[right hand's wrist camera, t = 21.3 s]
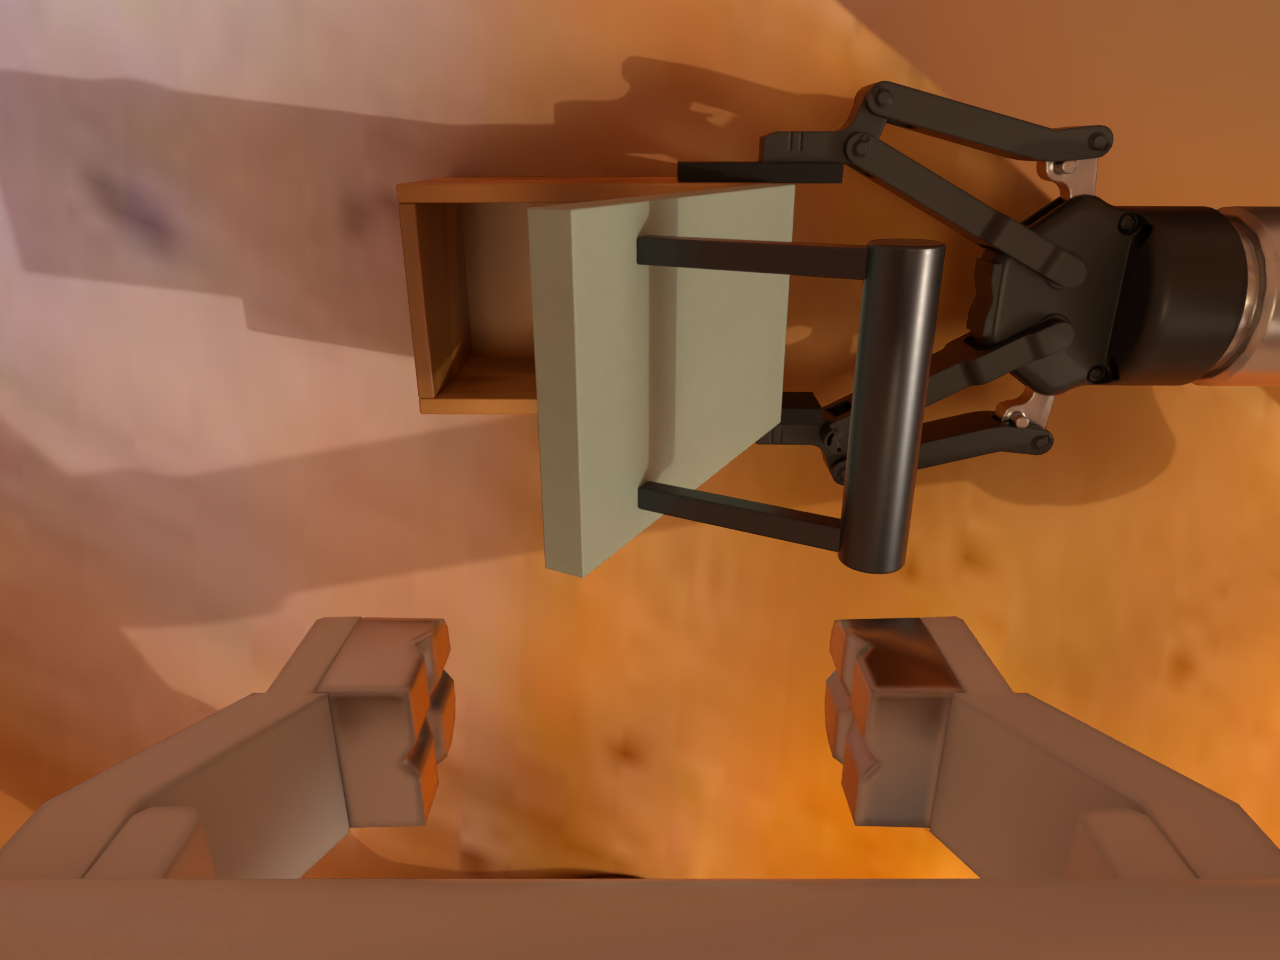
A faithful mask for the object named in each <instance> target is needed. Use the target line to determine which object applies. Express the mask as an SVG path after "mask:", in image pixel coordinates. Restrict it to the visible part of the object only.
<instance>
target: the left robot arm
mask: <svg viewBox="0 0 1280 960" xmlns="http://www.w3.org/2000/svg"><path fill="white" fill-rule="evenodd" d="M885 123H888V124H891V125H895V126H898V127H902V128H905V129H909V130H912V131H916V132H919V133H923V134H926V135H930V136H933V137H937V138H940V139H944V140H947V141H951V142H954V143H958V144H961V145H965V146H968V147H971V148H975V149H978V150H982V151H985V152H989V153H992V154H996V155H999V156H1003V157H1006V158H1011V159H1015V160H1024V161H1037V173H1038V175H1039V177H1040V178H1042V179H1043V180H1047V181H1052V182H1054V183H1056V184H1057V186H1058V187H1059V189H1060V197H1058V198H1057V199H1055V200H1054V201H1052V202H1051V203H1049V204H1048V205H1046V206H1045V207H1043V208H1042V209H1040V210H1039V211H1037V212H1036V213H1034V214H1033V215H1031V216H1030V217H1028V218H1026V219H1025V220H1023V221H1022V222H1020V223H1019V222H1017V221H1015V220H1014V219H1012V218H1010V217H1008V216H1006V215H1004V214H1002V213H1000V212H998V211H996V210H994V209H993V208H991V207H989V206H988V205H986V204H984V203H983V202H981V201H979V200H978V199H976V198H975V197H973V196H971V195H970V194H968V193H966V192H965V191H963V190H961V189H960V188H958V187H956V186H955V185H953V184H952V183H950V182H948V181H947V180H945V179H943V178H942V177H940V176H938V175H937V174H935V173H934V172H932V171H930V170H929V169H927V168H925V167H924V166H922V165H920V164H919V163H917V162H915V161H914V160H912V159H911V158H909V157H907V156H906V155H904V154H902V153H901V152H899V151H897V150H896V149H894V148H893V147H891V146H889V145H888V144H886V143H884V142H883V141H881V140H879V137H880V135H881V132H882V130H883V128H884V126H885ZM1112 144H1113V133H1112V131H1111V130H1110V129H1109V128H1108V127H1106V126H1102V125H1096V126H1074V127H1063V128H1053V129H1051V128H1047V127H1044V126H1041V125H1037V124H1034V123H1030V122H1027V121H1023V120H1020V119H1016V118H1013V117H1010V116H1006V115H1003V114H999V113H996V112H992V111H989V110H986V109H982V108H979V107H975V106H972V105H968V104H965V103H961V102H958V101H955V100H951V99H948V98H944V97H941V96H937V95H934V94H930V93H927V92H924V91H920V90H917V89H913V88H910V87H906V86H903V85H899V84H896V83H893V82H889V81H881V82H878V83H874V84H871V85H867V86H865V87H862V88H861V89H860V90H859V91H858V92H857V94H856V96H855V100H854V106H853V108H852V111H851V113H850V115H849V118H848V120H847V121H846V123H845V124H844V125H843V126H842V127H841V128H840V129H838V130H836V131H834V132H771V133H769V134H767V135H764V136H762V137H760V146H759V162H678V174H677V180H678V182H773V183H842V176H843V164H845V165H847V166H849V167H850V168H852V169H854V170H855V171H857V172H859V173H860V174H862V175H864V176H865V177H867V178H869V179H870V180H872V181H874V182H875V183H877V184H879V185H880V186H882V187H884V188H885V189H887V190H889V191H890V192H892V193H894V194H895V195H897V196H899V197H900V198H902V199H904V200H905V201H907V202H909V203H910V204H912V205H914V206H916V207H917V208H919V209H921V210H922V211H924V212H926V213H927V214H929V215H931V216H932V217H934V218H936V219H937V220H939V221H941V222H942V223H944V224H946V225H947V226H949V227H951V228H952V229H954V230H956V231H957V232H959V233H960V234H961V235H962V236H964V237H965V238H967V239H969V240H970V241H972V242H974V243H975V244H977V245H979V246H980V247H982V248H984V249H985V252H984V253H983V255H982V258H977V260H976V267H975V274H974V277H975V286H976V296H975V298H974V300H973V303H972V305H971V307H970V310H969V314H968V321H967V329H969V330H971V332H969V333H967V334H965V335H963V336H961V337H959V338H957V339H955V340H953V341H951V342H949V343H948V344H947V345H946V346H945V347H944V349H942V350H941V351H939V352H936V353H934V354H932V357H931V365H930V372H929V380H928V388H927V396H926V403H925V407H926V406H928V405H931V404H933V403H935V402H937V401H939V400H941V399H943V398H945V397H947V396H950V395H952V394H954V393H956V392H958V391H960V390H962V389H964V388H967V387H969V386H973V385H982V384H985V383H988V382H990V381H992V380H994V379H996V378H998V377H1001V376H1003V375H1005V374H1007V373H1010V374H1011V375H1013V376H1014V377H1015V378H1016V379H1018V380H1019V381H1020V382H1021V383H1023V384H1024V385H1025V386H1026V388H1025V390H1024V392H1023V393H1022V394H1021V395H1020V396H1019V397H1017V398H1015V399H1011V400H1006V401H1003V402H1000V403H999V404H998V405H997V406H996V411H976V412H971V413H965V414H961V415H957V416H952V417H948V418H944V419H939V420H935V421H930V422H926V423H923V427H922V434H921V442H920V450H919V457H918V465H917V470H918V469H922V468H927V467H931V466H936V465H940V464H945V463H949V462H954V461H958V460H963V459H967V458H972V457H976V456H981V455H985V454H990V453H994V452H999V451H1002V452H1012V453H1022V454H1032V455H1042V454H1044V453H1046V452H1048V451H1049V450H1050V449H1051V447H1052V445H1053V441H1054V438H1053V436H1052V434H1051V433H1050V432H1049V431H1048V430H1046V425H1047V422H1048V419H1049V415H1050V412H1051V408H1052V405H1053V402H1054V398H1055V395H1059V394H1062V393H1064V392H1066V391H1068V390H1070V389H1072V388H1075V387H1078V386H1082V385H1170V386H1175V385H1184V384H1188V383H1190V382H1191V383H1193V384H1195V385H1201V386H1280V207H1236V206H1235V207H1223V208H1220V209H1218V210H1215V209H1213V208H1210V207H1203V206H1113V205H1110V204H1108V203H1106V202H1105V201H1103V200H1102V199H1100V198H1099V197H1096V196H1095V187H1096V177H1097V167H1098V158H1099V157H1102V156H1103V155H1105V154H1106V153H1107V152H1108V151H1109V150H1110V148H1111V147H1112ZM852 397H853V393H852V394H850V395H848V396H845V397H843V398H841V399H839V400H837V401H835V402H833V403H831V404H829V405H827V406H825V407H823V408H822V407H821V406H820V404H819V403H818V401H817V399H816V398H815V396H814V394H813V393H812V392H782V406H781V422H780V423H779V424H777V425H776V426H775V427H774V428H772V429H771V430H770V431H769V432H767V433H766V434H765V435H764V436H762V437H761V438H760V439H758V440H757V441H756V442H755V443H757V444H783V445H815V446H817V447H819V448H820V449H821V451H822V454H823V459H824V462H825V464H826V466H827V468H828V470H829V471H830V473H831V475H832V477H833V479H834V481H835V482H836V483H838V484H840V485H844V481H845V470H846V460H847V449H848V439H849V428H850V418H851V407H852ZM586 879H632V878H624V877H593V878H586Z"/></svg>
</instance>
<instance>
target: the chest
mask: <svg viewBox="0 0 1280 960" xmlns="http://www.w3.org/2000/svg"><path fill="white" fill-rule="evenodd" d="M757 184H776V183H773V182H678V180H677V177H445V178H438V179H431V180H424V181H417V182H409V183H402V184H397V186H396V188H397V197H398V202H399V205H398V206H399V216H400V225H401V235H402V244H403V254H404V263H405V273H406V282H407V292H408V301H409V310H410V320H411V329H412V339H413V348H414V358H415V367H416V377H417V386H418V396H419V398H420V399H419V405H420V413H421V414H538V412H537V392H536V373H535V353H534V333H533V314H532V294H531V275H530V255H529V235H528V216H527V209H528V208H531V207H540V206H550V205H560V204H570V203H580V202H590V201H599V200H609V199H619V198H629V197H639V196H649V195H659V194H668V193H678V192H688V191H698V190H708V189H718V188H728V187H737V186H747V185H757Z"/></svg>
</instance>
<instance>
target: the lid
mask: <svg viewBox="0 0 1280 960" xmlns="http://www.w3.org/2000/svg"><path fill="white" fill-rule="evenodd" d="M794 198H795V184H757V185H747V186H737V187H728V188H718V189H708V190H698V191H688V192H678V193H668V194H659V195H649V196H639V197H629V198H619V199H609V200H599V201H590V202H580V203H570V204H560V205H550V206H540V207H531V208H528V209H527V216H528V235H529V255H530V275H531V294H532V314H533V333H534V353H535V373H536V392H537V412H538V432H539V451H540V471H541V490H542V510H543V530H544V549H545V567H546V568H548V569H552V570H555V571H559V572H563V573H566V574H570V575H574V576H578V577H581V578H584V577H585V576H587V575H588V574H589V573H590V572H592V571H593V570H594V569H595V568H597V567H598V566H599V565H601V564H602V563H603V562H604V561H606V560H607V559H608V558H609V557H611V556H612V555H613V554H614V553H616V552H617V551H618V550H619V549H621V548H622V547H623V546H625V545H626V544H627V543H628V542H630V541H631V540H632V539H633V538H635V537H636V536H637V535H638V534H640V533H641V532H642V531H643V530H645V529H646V528H647V527H649V526H650V525H651V524H652V523H654V522H655V521H656V520H657V519H659V518H660V517H661V516H662V515H664V514H665V515H669V516H674V517H679V518H683V519H688V520H692V521H697V522H702V523H706V524H711V525H715V526H720V527H725V528H729V529H734V530H738V531H743V532H748V533H752V534H757V535H761V536H766V537H771V538H775V539H780V540H784V541H789V542H794V543H798V544H803V545H807V546H812V547H817V548H821V549H826V550H830V551H835V552H838V558H839V560H840V561H841V562H842V563H843V564H844V565H846V566H847V567H849V568H851V569H854V570H857V571H860V572H864V573H871V574H887V573H892V572H895V571H898V570H900V569H901V568H902V567H903V565H904V564H905V558H906V550H907V543H908V535H909V527H910V519H911V512H912V504H913V496H914V488H915V481H916V473H917V465H918V457H919V450H920V442H921V434H922V427H923V419H924V411H925V403H926V396H927V388H928V380H929V372H930V365H931V357H932V349H933V341H934V334H935V326H936V318H937V311H938V303H939V295H940V287H941V280H942V272H943V264H944V256H945V249H946V246H945V244H944V243H942V242H938V241H932V240H921V239H878V240H872V241H869V242H868V244H867V246H862V245H842V244H822V243H801V242H792V230H793V214H794ZM790 275H798V276H813V277H827V278H842V279H857V280H864V281H863V292H862V302H861V313H860V323H859V334H858V344H857V355H856V365H855V376H854V386H853V397H852V407H851V418H850V428H849V439H848V449H847V460H846V470H845V481H844V492H843V502H842V513H841V519H838V518H833V517H828V516H823V515H818V514H813V513H808V512H803V511H798V510H793V509H788V508H783V507H778V506H773V505H768V504H763V503H758V502H753V501H748V500H743V499H738V498H733V497H728V496H723V495H718V494H713V493H708V492H703V491H698V490H695V489H697V488H698V487H699V486H700V485H702V484H703V483H704V482H705V481H707V480H708V479H709V478H710V477H712V476H713V475H714V474H716V473H717V472H718V471H719V470H721V469H722V468H723V467H724V466H726V465H727V464H728V463H729V462H731V461H732V460H733V459H734V458H736V457H737V456H738V455H740V454H741V453H742V452H743V451H745V450H746V449H747V448H748V447H750V446H751V445H752V444H753V443H755V442H756V441H757V440H758V439H760V438H761V437H762V436H764V435H765V434H766V433H767V432H769V431H770V430H771V429H772V428H774V427H775V426H776V425H777V424H779V423H780V422H781V406H782V390H783V374H784V358H785V342H786V326H787V310H788V294H789V278H790Z"/></svg>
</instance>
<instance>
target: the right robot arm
mask: <svg viewBox="0 0 1280 960" xmlns="http://www.w3.org/2000/svg"><path fill="white" fill-rule="evenodd" d="M450 650H451V649H450V641H449V633H448V626H447V624H446V623H445V621H444V619H430V618H378V617H365V618H362V617H324V618H320V619H317V620H316V622H315V623H314V624H313V626H312V627H311V629H310V630H309V631H308V633H307V634H306V636H305V637H304V639H303V640H302V642H301V643H300V644H299V646H298V647H297V649H296V650H295V652H294V653H293V655H292V656H291V657H290V659H289V660H288V662H287V663H286V665H285V666H284V667H283V669H282V670H281V672H280V673H279V675H278V676H277V678H276V679H275V680H274V682H273V683H272V685H271V686H270V688H269V689H268V691H267V692H266V693H252V694H250V695H248V696H246V697H245V698H243V699H241V700H239V701H237V702H235V703H233V704H231V705H229V706H227V707H225V708H224V709H222V710H220V711H218V712H216V713H214V714H212V715H210V716H208V717H206V718H204V719H203V720H201V721H199V722H197V723H195V724H193V725H191V726H189V727H187V728H185V729H183V730H182V731H180V732H178V733H176V734H174V735H172V736H170V737H168V738H166V739H164V740H162V741H161V742H159V743H157V744H155V745H153V746H151V747H149V748H147V749H145V750H143V751H141V752H140V753H138V754H136V755H134V756H132V757H130V758H128V759H126V760H124V761H122V762H120V763H119V764H117V765H115V766H113V767H111V768H109V769H107V770H105V771H103V772H101V773H99V774H98V775H96V776H94V777H92V778H90V779H88V780H86V781H84V782H82V783H80V784H78V785H77V786H75V787H73V788H71V789H69V790H67V791H65V792H63V793H61V794H59V795H57V796H56V797H54V798H52V799H50V800H48V801H46V802H44V803H43V804H42V805H41V806H40V807H39V808H38V809H37V810H36V811H35V813H34V814H33V815H32V816H31V817H30V818H29V819H28V820H27V821H26V822H25V823H24V825H23V826H22V827H21V828H20V829H19V830H18V831H17V832H16V833H15V834H14V835H13V837H12V838H11V839H10V840H9V841H8V842H7V843H6V844H5V845H4V846H3V847H2V849H1V850H0V960H1280V849H1279V848H1278V847H1277V846H1276V845H1275V844H1274V843H1273V842H1272V841H1271V840H1270V838H1269V837H1268V836H1267V835H1266V834H1265V833H1264V832H1263V831H1262V830H1261V829H1260V827H1259V826H1258V825H1257V824H1256V823H1255V822H1254V821H1253V820H1252V819H1251V818H1250V816H1249V815H1248V814H1247V813H1246V812H1245V811H1244V810H1243V809H1242V808H1241V807H1240V805H1239V804H1237V803H1235V802H1233V801H1231V800H1229V799H1228V798H1226V797H1224V796H1222V795H1220V794H1218V793H1216V792H1214V791H1212V790H1210V789H1209V788H1207V787H1205V786H1203V785H1201V784H1199V783H1197V782H1195V781H1193V780H1191V779H1189V778H1188V777H1186V776H1184V775H1182V774H1180V773H1178V772H1176V771H1174V770H1172V769H1170V768H1169V767H1167V766H1165V765H1163V764H1161V763H1159V762H1157V761H1155V760H1153V759H1151V758H1150V757H1148V756H1146V755H1144V754H1142V753H1140V752H1138V751H1136V750H1134V749H1132V748H1131V747H1129V746H1127V745H1125V744H1123V743H1121V742H1119V741H1117V740H1115V739H1113V738H1112V737H1110V736H1108V735H1106V734H1104V733H1102V732H1100V731H1098V730H1096V729H1094V728H1092V727H1091V726H1089V725H1087V724H1085V723H1083V722H1081V721H1079V720H1077V719H1075V718H1073V717H1072V716H1070V715H1068V714H1066V713H1064V712H1062V711H1060V710H1058V709H1056V708H1054V707H1053V706H1051V705H1049V704H1047V703H1045V702H1043V701H1041V700H1039V699H1037V698H1035V697H1034V696H1032V695H1030V694H1028V693H1014V692H1013V691H1012V689H1011V688H1010V686H1009V685H1008V684H1007V682H1006V681H1005V679H1004V678H1003V676H1002V675H1001V674H1000V672H999V671H998V669H997V668H996V666H995V665H994V664H993V662H992V661H991V659H990V658H989V656H988V655H987V654H986V652H985V651H984V649H983V648H982V646H981V645H980V644H979V642H978V641H977V639H976V638H975V636H974V635H973V634H972V632H971V631H970V629H969V628H968V626H967V625H966V624H965V622H964V621H963V620H962V619H960V618H958V617H956V616H951V617H926V618H887V619H846V620H835V621H834V624H833V628H832V631H831V639H830V648H829V650H830V653H831V656H832V658H833V661H834V664H835V667H836V670H835V671H834V673H833V674H832V675H831V676H830V677H829V678H828V679H827V680H826V691H825V724H826V731H827V736H828V742H829V745H830V749H831V752H832V755H833V757H834V758H835V759H836V760H838V761H839V762H840V763H842V764H843V773H842V782H841V784H842V787H843V790H844V793H845V796H846V799H847V802H848V805H849V808H850V811H851V814H852V817H853V821H854V824H855V826H885V827H922V828H930V832H931V833H932V834H933V835H935V836H936V837H937V838H938V839H939V840H940V841H941V842H942V843H943V844H944V845H945V846H946V847H947V848H949V849H950V850H951V851H952V852H953V853H954V854H955V855H956V856H957V857H958V858H959V859H960V860H961V861H963V862H964V863H965V864H966V865H967V866H968V867H969V868H970V869H971V870H972V871H973V872H974V873H975V874H977V875H978V876H979V877H980V878H981V879H299V878H301V877H302V876H303V875H304V874H305V873H306V872H307V871H308V870H309V869H310V868H311V867H312V866H314V865H315V864H316V863H317V862H318V861H319V860H320V859H321V858H322V857H323V856H324V855H325V854H326V853H328V852H329V851H330V850H331V849H332V848H333V847H334V846H335V845H336V844H337V843H338V842H339V841H340V840H342V839H343V838H344V837H345V836H346V835H347V834H348V833H349V832H350V829H349V828H358V827H393V826H425V824H426V821H427V818H428V815H429V812H430V808H431V805H432V802H433V799H434V796H435V793H436V790H437V787H438V784H439V783H438V773H437V764H438V763H440V762H441V761H442V760H444V759H445V758H446V757H447V755H448V752H449V748H450V745H451V742H452V736H453V729H454V721H455V690H454V680H453V679H452V678H451V677H450V676H449V675H448V674H447V673H446V671H445V670H444V667H445V664H446V661H447V658H448V656H449V653H450Z"/></svg>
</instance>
